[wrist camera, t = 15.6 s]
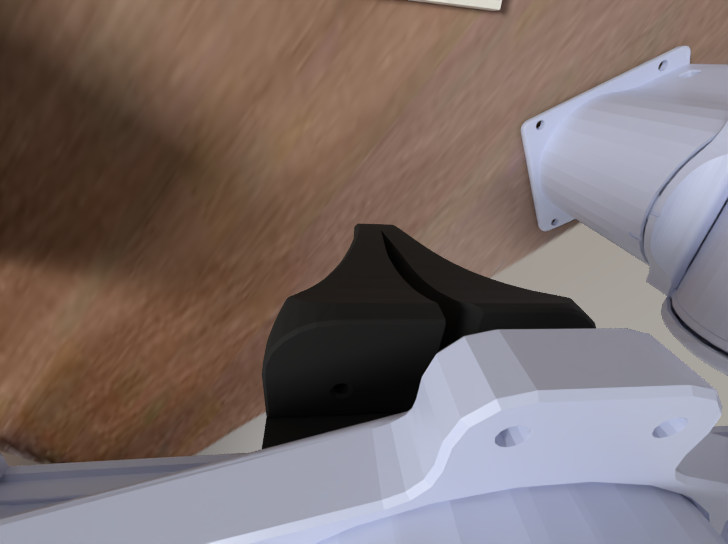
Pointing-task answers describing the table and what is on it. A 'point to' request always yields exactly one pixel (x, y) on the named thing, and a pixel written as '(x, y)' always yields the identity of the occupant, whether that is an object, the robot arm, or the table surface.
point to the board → (469, 3)
